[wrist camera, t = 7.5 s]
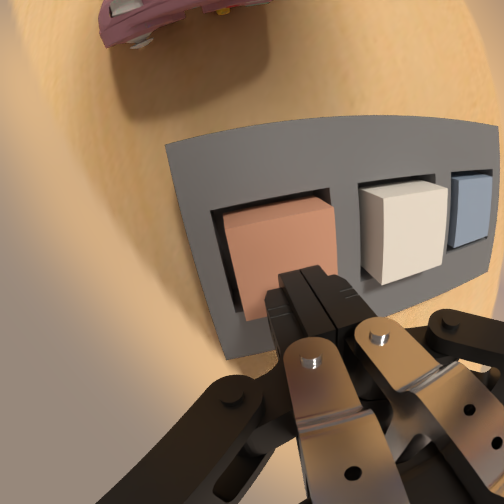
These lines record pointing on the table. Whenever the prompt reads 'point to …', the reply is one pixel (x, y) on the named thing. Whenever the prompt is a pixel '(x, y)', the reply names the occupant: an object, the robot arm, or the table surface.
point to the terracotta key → (278, 245)
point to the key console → (325, 200)
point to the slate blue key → (469, 207)
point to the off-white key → (401, 228)
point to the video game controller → (152, 17)
